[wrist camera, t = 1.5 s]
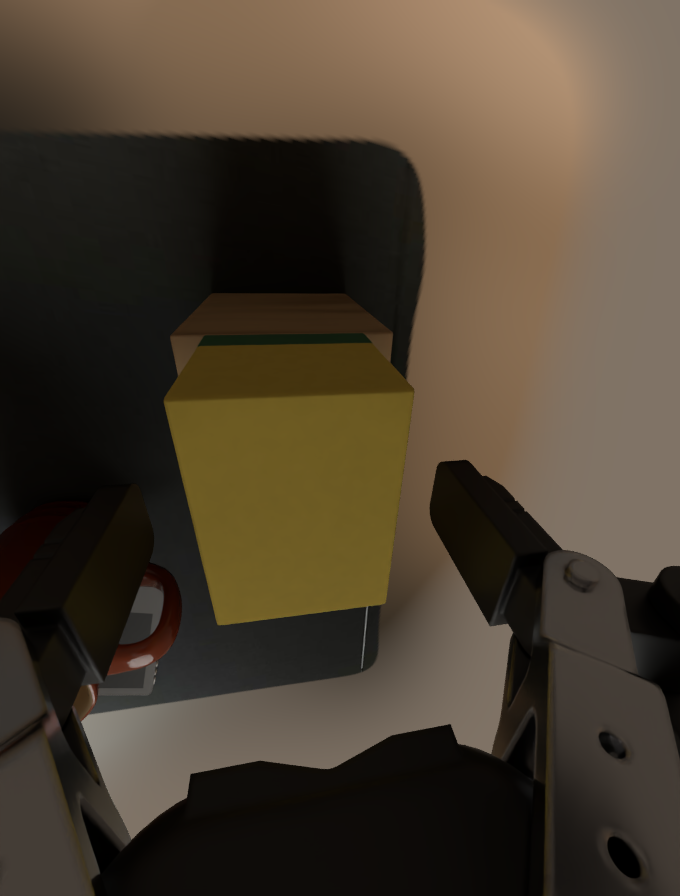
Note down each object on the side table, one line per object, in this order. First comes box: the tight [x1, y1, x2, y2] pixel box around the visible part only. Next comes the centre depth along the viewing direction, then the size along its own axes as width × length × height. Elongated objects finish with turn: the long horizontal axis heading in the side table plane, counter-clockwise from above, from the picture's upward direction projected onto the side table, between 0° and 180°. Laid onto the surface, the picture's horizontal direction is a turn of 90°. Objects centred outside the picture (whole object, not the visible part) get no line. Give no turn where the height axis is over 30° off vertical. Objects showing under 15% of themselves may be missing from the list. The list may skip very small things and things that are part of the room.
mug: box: [0, 501, 182, 721], centre depth 21 cm, size 12×9×10 cm
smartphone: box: [98, 586, 163, 695], centre depth 30 cm, size 15×8×1 cm, turn 162°
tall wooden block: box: [170, 293, 393, 376], centre depth 17 cm, size 7×7×9 cm
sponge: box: [164, 333, 414, 625], centre depth 11 cm, size 7×5×5 cm
